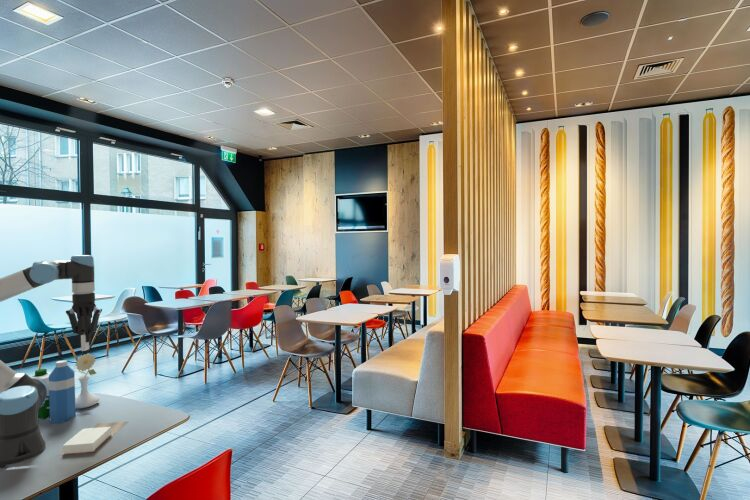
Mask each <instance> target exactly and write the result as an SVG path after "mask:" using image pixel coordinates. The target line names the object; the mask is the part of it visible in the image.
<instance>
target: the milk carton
mask: <svg viewBox="0 0 750 500" xmlns="http://www.w3.org/2000/svg"><path fill="white" fill-rule="evenodd" d="M51 372H52V371H48V370H47V368H40V369H37V370H34V375H32V376H30V377H31V378H35V379H39V380H41V381H42V382H43V383H44V384H45V385H46V387H47V396H46V399H45V401H44V402H43V404H42V405H41V407H40V408H39V410H38V419H42V420H45V419H48V418H50V405H49V375H50V374H51Z"/></svg>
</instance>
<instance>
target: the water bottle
mask: <svg viewBox="0 0 750 500" xmlns="http://www.w3.org/2000/svg"><path fill="white" fill-rule="evenodd" d="M50 372H51V374H50V375H49V405H50V417H49V423H50V424H60V423H65V422H68V421H69V420H71V419H72V418H74V417H76V414H77V413H76V409H75V398H76V384H75V383H76V382H75V381H76V380H75V379H76V378H75V370H74V369H73V368H71V366H70V365H68V360H66V359H64V360H58V361H56V362H55V367H54V368H53V370H52V371H50Z"/></svg>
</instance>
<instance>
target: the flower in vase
mask: <svg viewBox="0 0 750 500" xmlns="http://www.w3.org/2000/svg"><path fill="white" fill-rule="evenodd" d="M95 357H96V356H95V355H93V354H91V353H86V354H85V353H84V354H83V355H80V357H79V358H77V361H76V362H75V365H76V369H77V371H78V372H79V373H81V374H84V375H80V376H77V378H76V379H78V381H79V384H80V387H81V388H80V392H79V394H78V395H77V396H75V410H76V409H85V408H89V407H92V406H94V405H96V404H97V403H99V401H100V398H99V396H98V395H95V394H93V393H91V392H89V390H88V381H89V379H90V378H91V376H93V375H96V374H97V372H96V370H95V369H93V368H92V367H93V366H94V364H95V363H96V358H95ZM87 370H88V371H87ZM85 371H86V372H85Z"/></svg>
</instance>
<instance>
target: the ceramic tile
mask: <svg viewBox="0 0 750 500" xmlns="http://www.w3.org/2000/svg"><path fill="white" fill-rule="evenodd" d="M110 435H111V427H100V428H93V427H91V428H90V427H89V428H82V429H80V430H79V432H77V433H76V434H75V435H74V436H72V437H71V438H70V439H69V440H67V441H66V442H65V443H64V444H63V445H62V452H63V454H69V455H75V454H74V453H84V454H87V453H86V452H94V451H95V450H96V449H97V448H98V447H99V446H100V445H101V444H102V443H103V442H104V441H105V440H106V439H107V438H108V437H109V436H110ZM94 453H95V452H94Z"/></svg>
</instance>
